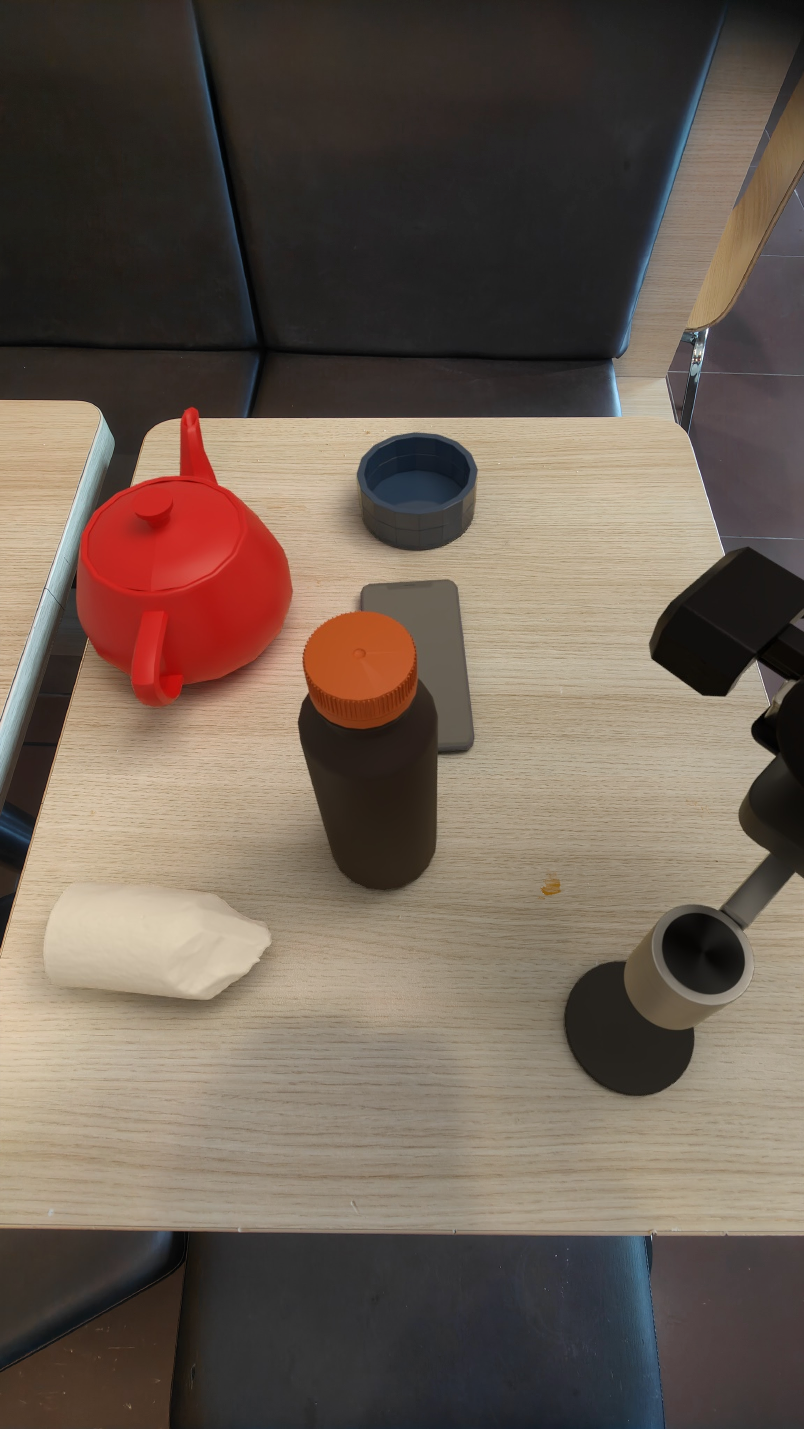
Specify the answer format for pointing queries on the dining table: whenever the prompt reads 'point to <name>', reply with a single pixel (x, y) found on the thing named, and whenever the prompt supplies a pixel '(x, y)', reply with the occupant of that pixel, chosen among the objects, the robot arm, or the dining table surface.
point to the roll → (149, 940)
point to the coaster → (622, 1036)
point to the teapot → (180, 578)
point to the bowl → (417, 490)
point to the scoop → (701, 953)
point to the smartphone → (432, 648)
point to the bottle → (371, 748)
